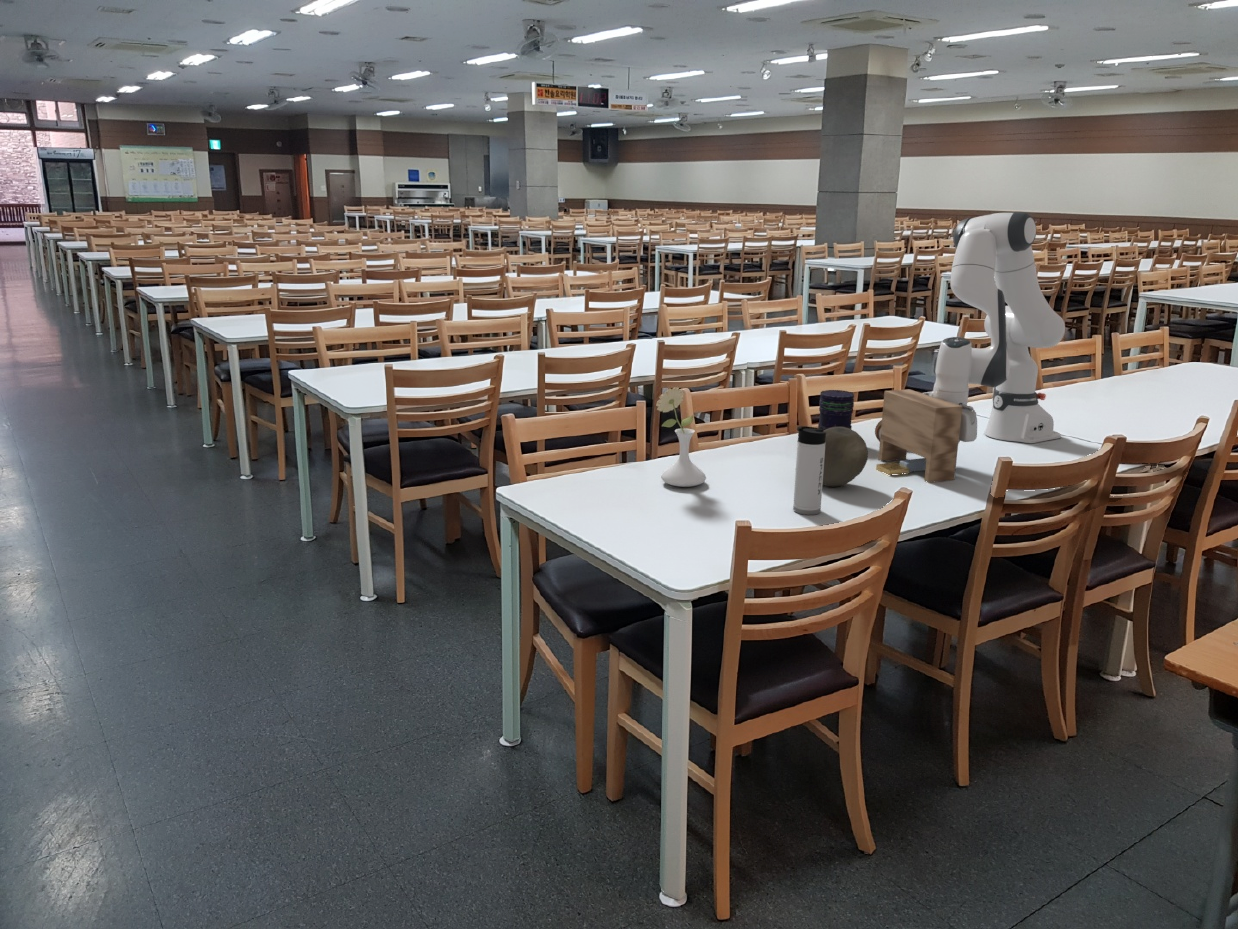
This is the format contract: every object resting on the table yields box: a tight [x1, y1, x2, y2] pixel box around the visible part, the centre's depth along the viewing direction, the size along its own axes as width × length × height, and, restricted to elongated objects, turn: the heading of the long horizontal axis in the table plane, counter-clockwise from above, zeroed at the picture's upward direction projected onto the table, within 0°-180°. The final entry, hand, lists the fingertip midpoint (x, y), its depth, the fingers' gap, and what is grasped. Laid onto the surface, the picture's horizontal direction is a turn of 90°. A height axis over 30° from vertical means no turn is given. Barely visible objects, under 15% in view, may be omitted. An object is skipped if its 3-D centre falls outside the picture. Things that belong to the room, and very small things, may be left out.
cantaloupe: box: [822, 427, 869, 488], centre depth 232 cm, size 14×14×15 cm
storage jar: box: [817, 389, 855, 431], centre depth 272 cm, size 10×10×15 cm
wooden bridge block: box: [877, 389, 962, 483], centre depth 245 cm, size 8×22×20 cm, turn 19°
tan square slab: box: [875, 461, 910, 476], centre depth 246 cm, size 6×6×2 cm
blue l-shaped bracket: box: [899, 449, 959, 473], centre depth 248 cm, size 16×4×10 cm, turn 109°
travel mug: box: [792, 425, 826, 516], centre depth 212 cm, size 6×7×20 cm
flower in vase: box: [655, 386, 707, 488], centre depth 230 cm, size 13×11×25 cm
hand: (944, 450), depth 249 cm, fingers closed on blue l-shaped bracket, 4 cm apart
